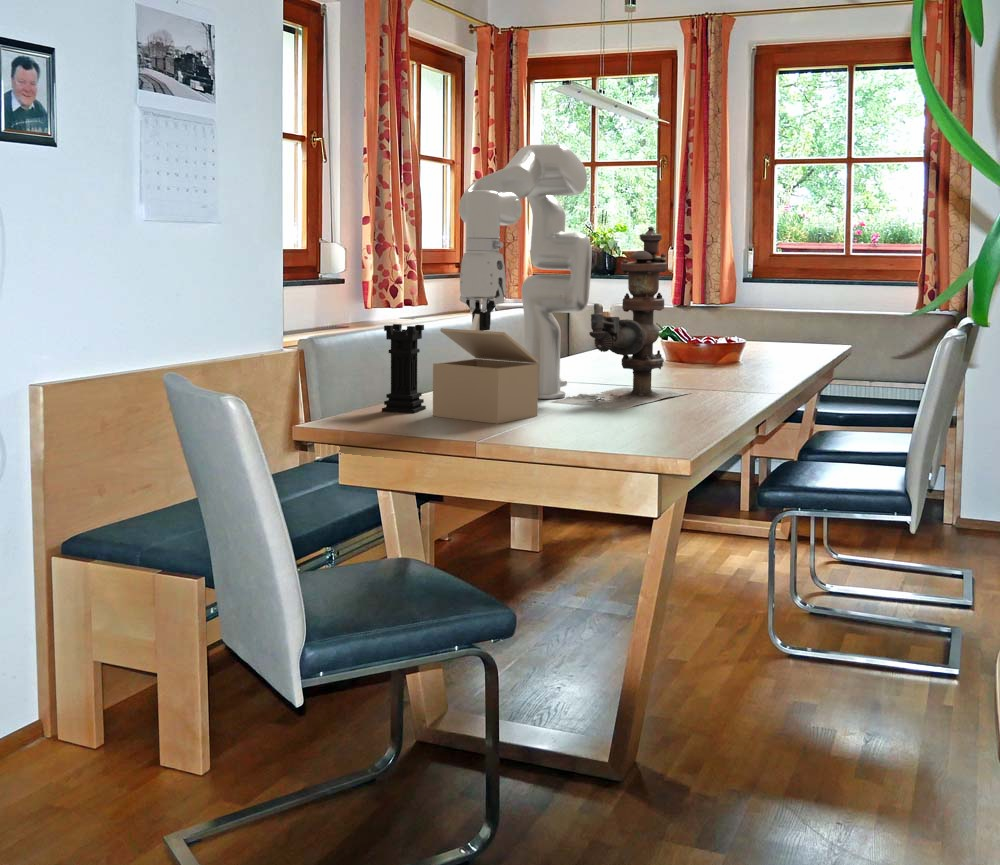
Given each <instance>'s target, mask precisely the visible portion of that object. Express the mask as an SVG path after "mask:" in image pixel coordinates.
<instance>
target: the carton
mask: <svg viewBox="0 0 1000 865" xmlns="http://www.w3.org/2000/svg"><path fill="white" fill-rule="evenodd" d="M432 368H433V369H432V416H433V417H438V418H445V419H447V418H448V419H453V420H454V419H455V420H464V421H473V422H481V423H487V424H488V423H490V424H495V425H496V424H497V425H498V424H502V423H508V422H513V421H518V420H523V419H528V418H533V417H538V407H539V406H538V404H539V403H538V401H539V399H538V364H533V363H524V362H515V361H503V360H490V359H478V358H471V359H462V360H461V359H460V360H452V361H443V362H442V361H441V362H435V363H433V364H432Z"/></svg>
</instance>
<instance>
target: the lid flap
mask: <svg viewBox="0 0 1000 865" xmlns="http://www.w3.org/2000/svg"><path fill="white" fill-rule="evenodd" d="M439 331H440V332H441V333H442V334H444V335H445V336H446V337H447V338H449V339H450V340H452V341H453V342H454V343H456V345H458V346H459V347H461V348H462V349H463V350H465V351H466V352H467V353H469V354H470V355H471V356H472V357H473V358H474V359H483V360H495V361H508V362H520V363H524V362H528V363H538V362H539V361H538V360H537V359H536V358H535V357H534V356H532V355H531V354H530V353H529V352H528V351H526V350H525V349H524V346H522V345H520V344H519V343H518V342H517V340H514V339H513V338H512V337H510V336H509V335H508V333H506V332H505V331H504V332H503V331H491V330H483V331H482V330H480V314H475V316H474V319H473V322H472V321H471V326H470V329H460V328H459V329H457V328H455V329H454V328H444V327H443V328H442V327H441V328H440V329H439Z"/></svg>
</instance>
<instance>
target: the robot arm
mask: <svg viewBox="0 0 1000 865" xmlns="http://www.w3.org/2000/svg"><path fill="white" fill-rule="evenodd" d="M587 184H588V172H587V169H586V166H585V165H584V163H583V162H582V160H581V159H580V158H579V157H578V156H577V155H576V154H575V153H574V151H572V150H571V149H570V148H568V147H567V146H566V145H563V144H531V145H530V144H529V145H524V146H523V147H521V148H519V150H518V151H516V153H515V154H514V156H513V157H512V158H511V159H510V160H509V162H508V163H507V164H506V166H505V167H504V168H502V169H499V170H496V171H494V172H491V173H489V174H487V175H485V176H482V177H481V178H478V179H476V180H475V181H473V182H472V183H471V184H470V185H469V186H468V187H467V188H466V189H465V191H464V192H463V194H462V196H461V198H460V200H459V203H458V204H459V205H458V214H459V217H460V219H461V220H462V222H463V223H465V252H463V255H462V259H461V265H460V274H459V294H460V295H459V301H460V302H462V303H463V304H466V305H467V308H469V311H470V312H471V318H472V319H471V320H472V321H471V323H472V322H473V319H474V316H475V314H480V330H482V331H483V330H484V331H491V330H490V329H491V319H492V318H491V316H492V315H491V314H492V313H493V312H494V309H495V308H496V307H497V306H499V305H501V304H504V302H505V299H504V297H506V294H507V279H506V278H507V277H506V274H507V273H506V267H505V266H506V265H505V260H504V256H503V253H500V249H502V248H503V247H504V243H503V241H501V240H500V229H501V226H511V225H515V223H517V222H519V220H520V218H521V216H522V213H523V205H522V202H521V200H523V199H525V198H526V199H527V201H528V203H529V205H530V209H531V212H532V225H531V226H532V227H531V228H532V229H531V239H530V252H529V253H530V257H529V258H530V262H531V265H532V266H533V267H534V268H536V269H539V270H545V271H546V270H547V271H570V275H569V274H566V275H565V274H563V275H562V274H534V275H530V276H528V277H527V278H526V279H525V280H524V281H523V282H522V286H521V288H520V289H521V301H522V308H523V319H524V321H523V322H524V326H523V328H524V330H523V331H524V334H523V335H524V338H523V348H524V349H525V350H526V351H528V352H529V353H530V354H531V355H532V356H534V357H535V358H536V359H537V360H538V361H539V362H538V363H533V364H538V400H543V399H548V400H550V399H551V400H552V399H563V398H564V397H565V398H566V392H565V391H563V390H561V388H563V387H567V385H568V382H567V380H566V379H565V378H563V379H561V376H560V375H561V338H562V336H561V335H562V331H561V330H562V329H561V327H560V324H559V322H558V320H557V318H555V316H554V314H553V313H564V314H565V313H566V314H567V313H568V314H569V313H570V314H571V313H572V314H573V313H574V314H578V313H582V312H584V311H585V310H586V308H587V306H588V303H589V298H590V290H591V288H590V287H591V275H592V274H591V273H592V261H593V260H592V258H593V250H592V249H593V248H592V243H591V240H590V238H589V237H588V236H587V235H585V234H584V233H580V232H566V219H567V218H566V217H567V216H566V213H565V210H564V208H563V206H562V204H561V203H560V202H559V201H558V199H557V198H556V197H555V196H559V197H560V196H562V197H563V196H565V197H566V196H569V197H570V196H571V197H572V196H577V195H578V196H579V195H582V193H583V192H584V191H585V189H586V187H587ZM523 363H528V362H523Z"/></svg>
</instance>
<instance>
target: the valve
mask: <svg viewBox="0 0 1000 865" xmlns="http://www.w3.org/2000/svg"><path fill="white" fill-rule="evenodd" d="M647 229H648V230H647V231H646V232H645V233H642V234H639V239H640V240H641V242H643V250H637V251H634V253H632V254H631V255H630V257H629V260H635V261H628V260H626V259H624V260H622V262H621V263H620V270H621V272H622V274H624V275H625V274H628V276H627V278H628V279H627V280H628V281H627V282H628V283H627V288H628V292H627V293H625V295H624V298H623V299H622V310H623V312H626V313H628V312H629V311H631V312H632V319H629V318H628V319H621V318H620V317H619V316H606V315H604V313H602V312H601V309H600V304H599V303H593V311H594V312H593V313H591V314H590V317H591V318H590V321H591V322H590V326H591V327H590V328H591V330H592V331H590V332H589V333H588V334H589V336H590V337H592V339H593V338H594V347H596V350H598V351H600V352H601V353H602V352H603V353H605V352H609V351H610V352H612V353H613V354H616V355H620V356H622V358H621V366H622V368H623V369H626V370H627V369H628V370H632V387H620V388H614V389H609V390H604V391H602V392H599V393H597V392H596V393H590V394H586V393H585V394H584V393H579V394H578V395H574V396H573V395H572V396H565V398H560V399H558V400H557V399H556V400H553V401H552V400H551V403H555V404H563V405H564V404H566V405H576V406H593V407H596V408H597V407H598V408H600V407H601V408H604V409H605V408H608V409H617V410H623V409H624V410H625V409H629V408H632V407H635V406H639V405H642V404H648V403H652V402H656V401H659V400H662V399H666V398H671V397H679V396H682V395H683V396H685V395H689V394H691V392H683V391H673V390H663V389H653V388H652V372H653V371H652V370H654V369H655V370H656V369H659V370H660V371H661V370H662V367H663V366H664V363H665V362H664V361H665V360H664V357H662V354H661V350H659V349H658V350H657V351H656V352H657V353H656V354H654V352H653V351H654V343H656V342H657V341H658V339H659V336H660V331H659V328H658V326H657V325H655V324H654V311H662V310H664V309H665V298H663V295H662V294H661V292H658V291H659V289H660V273H665V272H666V271H667V270H668V262H666V260H667V257H666V254H665V253H663V252H662V253H661V254H660V255H657V253H658V249H659V242H660V241H661V240H663V235H662V234H660V233H657V232H656V231H655V228H654V226H648V227H647ZM629 294H630V295H631V296H632V297H630V295H629ZM655 296H656V297H655Z"/></svg>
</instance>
